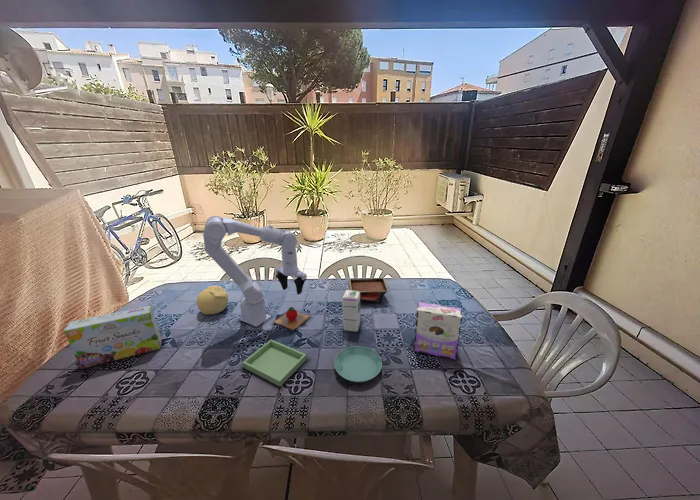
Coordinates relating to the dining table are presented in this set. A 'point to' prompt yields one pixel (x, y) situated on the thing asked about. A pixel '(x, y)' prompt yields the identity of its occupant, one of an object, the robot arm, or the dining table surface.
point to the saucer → (358, 364)
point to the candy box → (437, 330)
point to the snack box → (113, 336)
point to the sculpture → (212, 300)
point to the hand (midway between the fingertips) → (292, 291)
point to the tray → (275, 362)
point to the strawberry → (291, 314)
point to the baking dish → (369, 288)
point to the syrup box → (351, 310)
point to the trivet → (292, 324)
